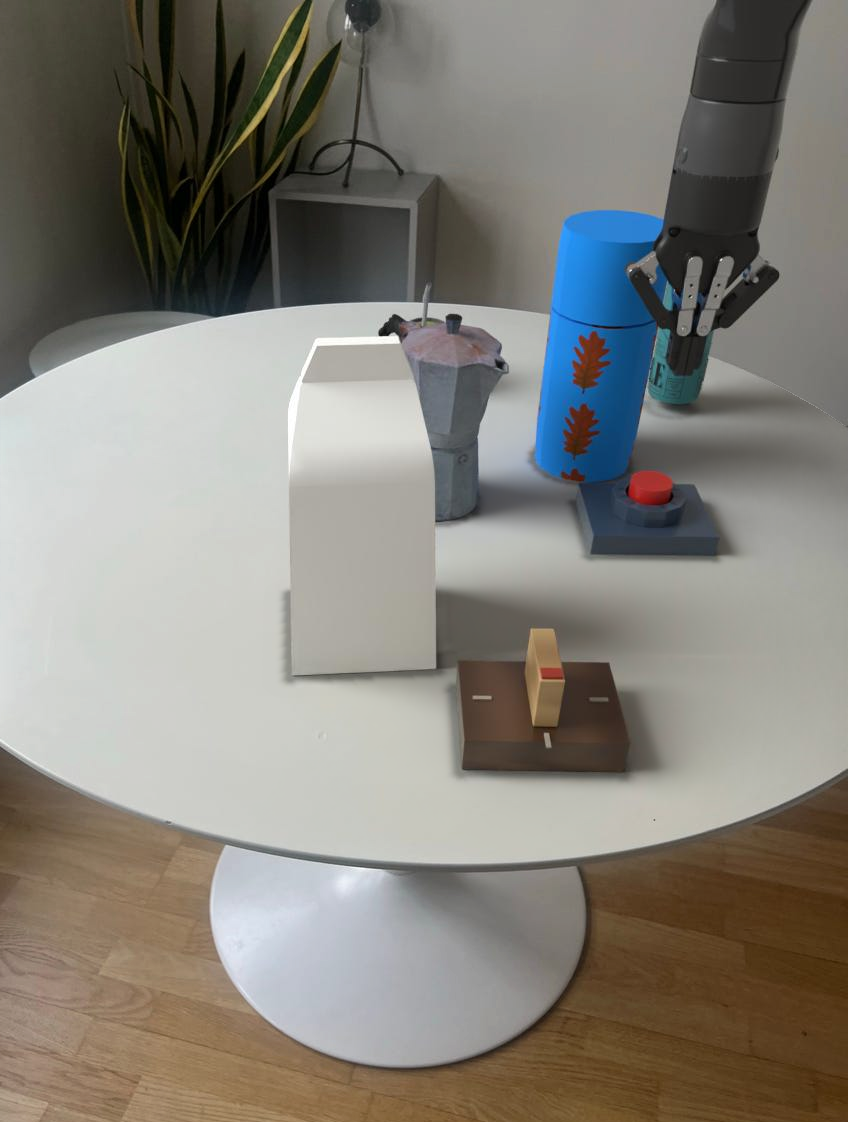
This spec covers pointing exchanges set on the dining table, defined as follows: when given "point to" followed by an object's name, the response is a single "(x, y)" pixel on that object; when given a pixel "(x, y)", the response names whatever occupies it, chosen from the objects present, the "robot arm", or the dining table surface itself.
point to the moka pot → (451, 400)
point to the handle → (544, 677)
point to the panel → (515, 744)
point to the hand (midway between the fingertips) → (680, 372)
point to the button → (650, 488)
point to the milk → (360, 512)
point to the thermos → (596, 347)
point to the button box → (644, 521)
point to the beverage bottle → (662, 377)
